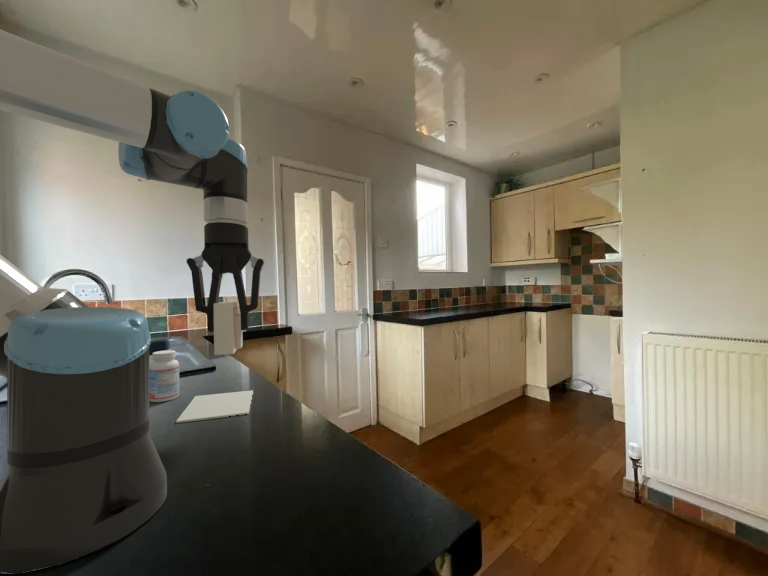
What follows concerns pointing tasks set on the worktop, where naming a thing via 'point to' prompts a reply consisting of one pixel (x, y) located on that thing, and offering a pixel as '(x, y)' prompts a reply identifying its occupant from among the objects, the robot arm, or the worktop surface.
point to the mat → (217, 406)
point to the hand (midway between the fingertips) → (228, 348)
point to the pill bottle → (163, 376)
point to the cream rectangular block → (225, 327)
